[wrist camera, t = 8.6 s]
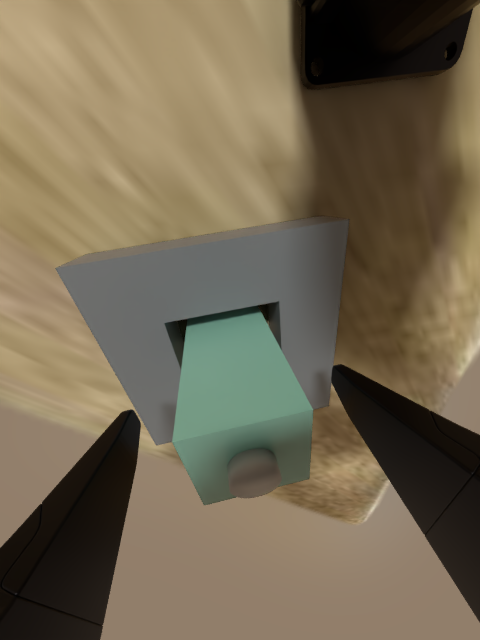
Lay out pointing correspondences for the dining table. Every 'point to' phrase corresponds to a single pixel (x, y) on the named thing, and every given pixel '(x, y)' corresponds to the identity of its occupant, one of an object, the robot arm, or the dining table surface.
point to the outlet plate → (212, 303)
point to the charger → (239, 409)
